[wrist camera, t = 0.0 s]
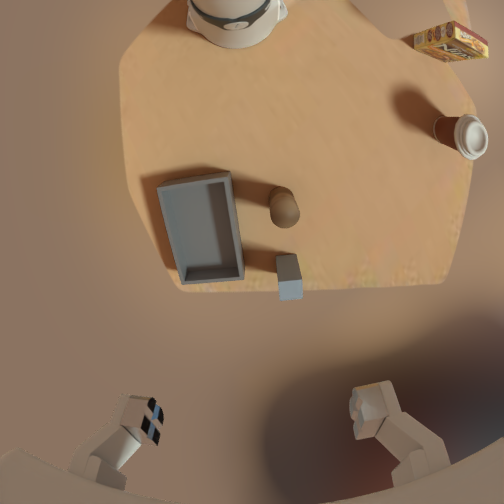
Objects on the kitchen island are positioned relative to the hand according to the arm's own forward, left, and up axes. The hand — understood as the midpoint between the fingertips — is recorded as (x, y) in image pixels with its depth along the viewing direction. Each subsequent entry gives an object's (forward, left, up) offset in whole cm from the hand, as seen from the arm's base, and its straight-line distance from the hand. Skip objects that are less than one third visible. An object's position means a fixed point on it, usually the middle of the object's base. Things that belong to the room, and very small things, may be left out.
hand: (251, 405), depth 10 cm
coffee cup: (-7, +42, -48) cm, 64 cm away
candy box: (-26, +40, -48) cm, 68 cm away
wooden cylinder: (+7, +4, -48) cm, 49 cm away
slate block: (+22, +4, -48) cm, 53 cm away
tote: (+11, -12, -48) cm, 51 cm away
